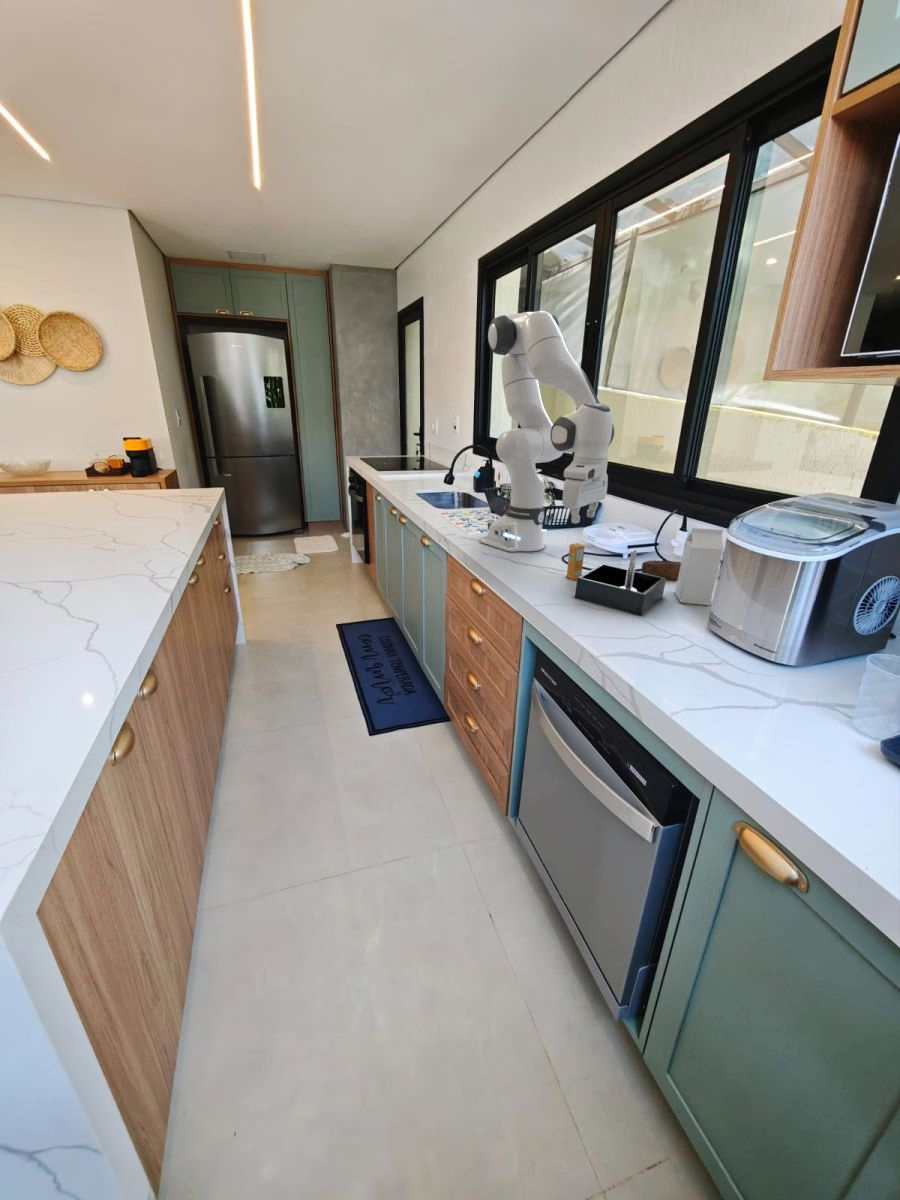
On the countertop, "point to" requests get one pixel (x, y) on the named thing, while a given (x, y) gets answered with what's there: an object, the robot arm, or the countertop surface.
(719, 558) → the milk carton
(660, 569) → the brick
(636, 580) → the grey storage bin
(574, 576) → the supplement box
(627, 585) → the screw
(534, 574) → the countertop surface
